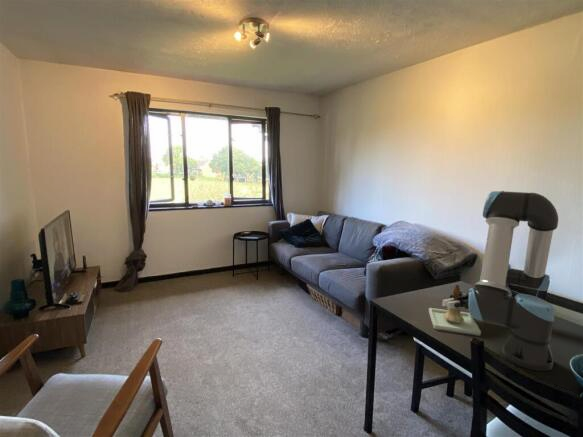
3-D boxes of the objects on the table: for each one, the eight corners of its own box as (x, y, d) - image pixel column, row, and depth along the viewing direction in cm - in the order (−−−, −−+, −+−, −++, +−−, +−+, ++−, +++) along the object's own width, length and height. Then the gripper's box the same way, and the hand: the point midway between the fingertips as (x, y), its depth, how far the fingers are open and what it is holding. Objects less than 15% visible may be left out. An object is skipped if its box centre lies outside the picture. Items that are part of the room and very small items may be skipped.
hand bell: (445, 312, 150) (448, 280, 148) (464, 317, 146) (468, 284, 143) (441, 319, 144) (445, 285, 141) (462, 324, 139) (466, 289, 136)
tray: (480, 335, 134) (480, 331, 134) (434, 329, 139) (434, 324, 138) (469, 316, 151) (470, 313, 151) (428, 311, 156) (429, 307, 156)
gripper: (497, 311, 144) (459, 319, 135) (468, 298, 158) (431, 305, 149) (499, 295, 142) (461, 303, 134) (469, 283, 156) (433, 290, 148)
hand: (445, 304), depth 141 cm, fingers closed on hand bell, 2 cm apart
